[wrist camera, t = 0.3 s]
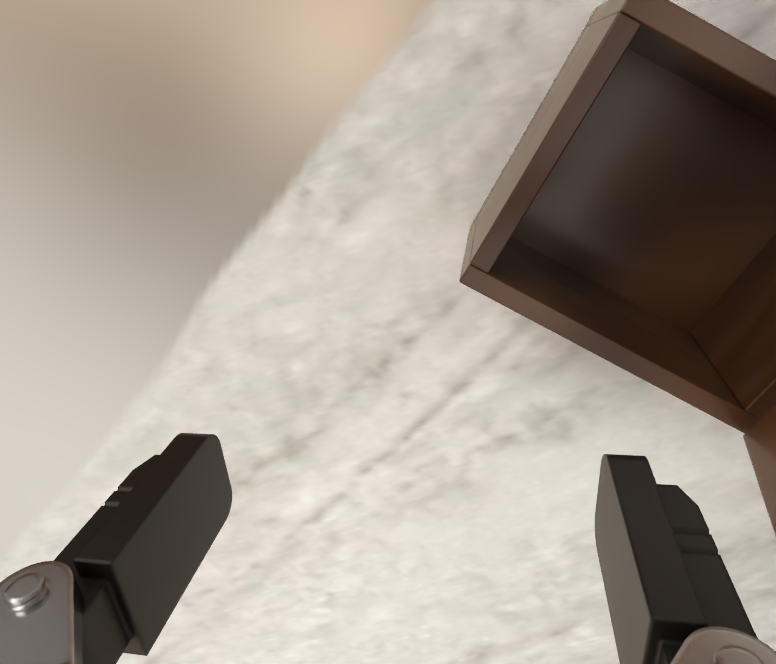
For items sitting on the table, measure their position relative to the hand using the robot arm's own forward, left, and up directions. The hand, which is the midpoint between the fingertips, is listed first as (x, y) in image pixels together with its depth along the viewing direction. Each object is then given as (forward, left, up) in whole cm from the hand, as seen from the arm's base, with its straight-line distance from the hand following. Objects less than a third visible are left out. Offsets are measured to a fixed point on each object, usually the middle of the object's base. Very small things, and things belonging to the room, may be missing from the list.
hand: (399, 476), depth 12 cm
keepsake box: (-6, +7, -19) cm, 21 cm away
